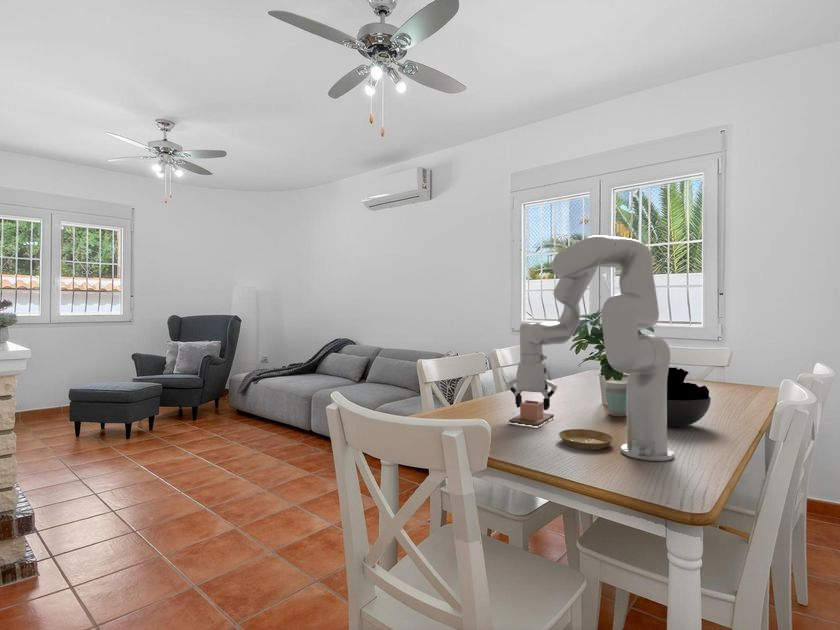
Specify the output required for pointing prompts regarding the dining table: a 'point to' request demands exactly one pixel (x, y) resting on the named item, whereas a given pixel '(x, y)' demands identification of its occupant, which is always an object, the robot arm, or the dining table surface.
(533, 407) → the salmon pink cube
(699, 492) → the dining table surface
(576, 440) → the plant saucer
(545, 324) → the robot arm
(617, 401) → the coffee cup
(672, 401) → the coal bowl
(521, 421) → the base
